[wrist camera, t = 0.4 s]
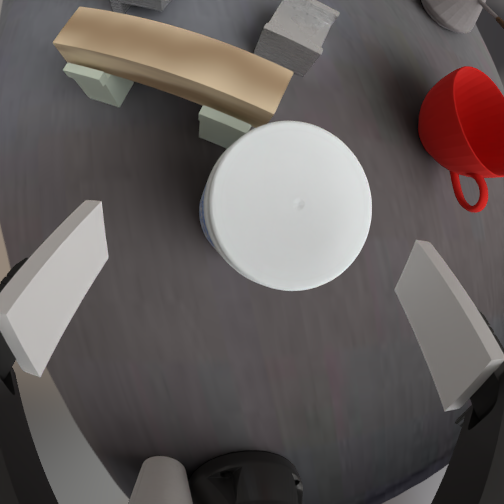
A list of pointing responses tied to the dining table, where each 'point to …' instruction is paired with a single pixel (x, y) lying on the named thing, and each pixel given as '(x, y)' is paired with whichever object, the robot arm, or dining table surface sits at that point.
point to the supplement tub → (287, 206)
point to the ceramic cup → (465, 129)
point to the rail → (175, 62)
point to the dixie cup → (161, 483)
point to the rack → (116, 88)
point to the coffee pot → (457, 13)
